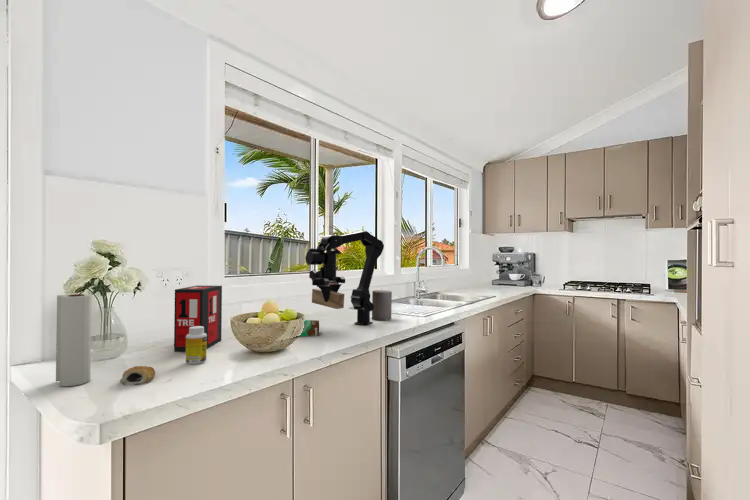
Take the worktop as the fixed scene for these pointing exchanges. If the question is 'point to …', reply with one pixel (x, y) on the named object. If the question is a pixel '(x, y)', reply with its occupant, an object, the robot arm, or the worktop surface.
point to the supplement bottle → (196, 345)
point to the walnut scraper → (334, 299)
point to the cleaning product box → (197, 314)
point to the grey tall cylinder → (73, 339)
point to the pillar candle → (381, 304)
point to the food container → (310, 328)
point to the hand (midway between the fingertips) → (329, 301)
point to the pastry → (137, 375)
